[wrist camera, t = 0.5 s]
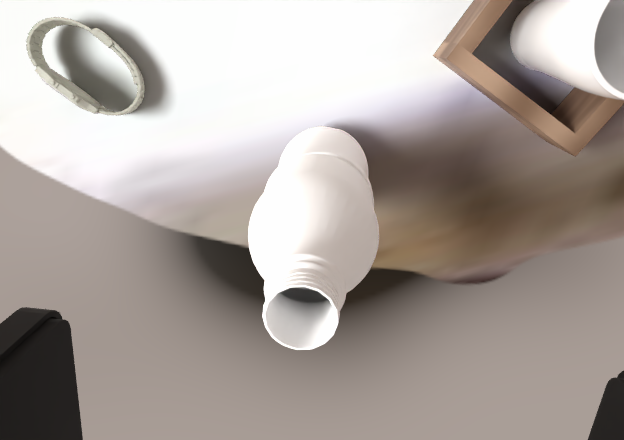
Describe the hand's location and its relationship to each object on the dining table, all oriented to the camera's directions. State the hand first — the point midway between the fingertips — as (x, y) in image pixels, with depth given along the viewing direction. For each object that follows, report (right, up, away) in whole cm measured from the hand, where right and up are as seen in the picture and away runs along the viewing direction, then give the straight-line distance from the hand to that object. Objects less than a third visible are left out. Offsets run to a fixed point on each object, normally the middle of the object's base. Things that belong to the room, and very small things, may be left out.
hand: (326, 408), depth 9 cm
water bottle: (+1, +8, +34) cm, 35 cm away
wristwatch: (-18, +16, +32) cm, 40 cm away
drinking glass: (+18, +18, +29) cm, 38 cm away
